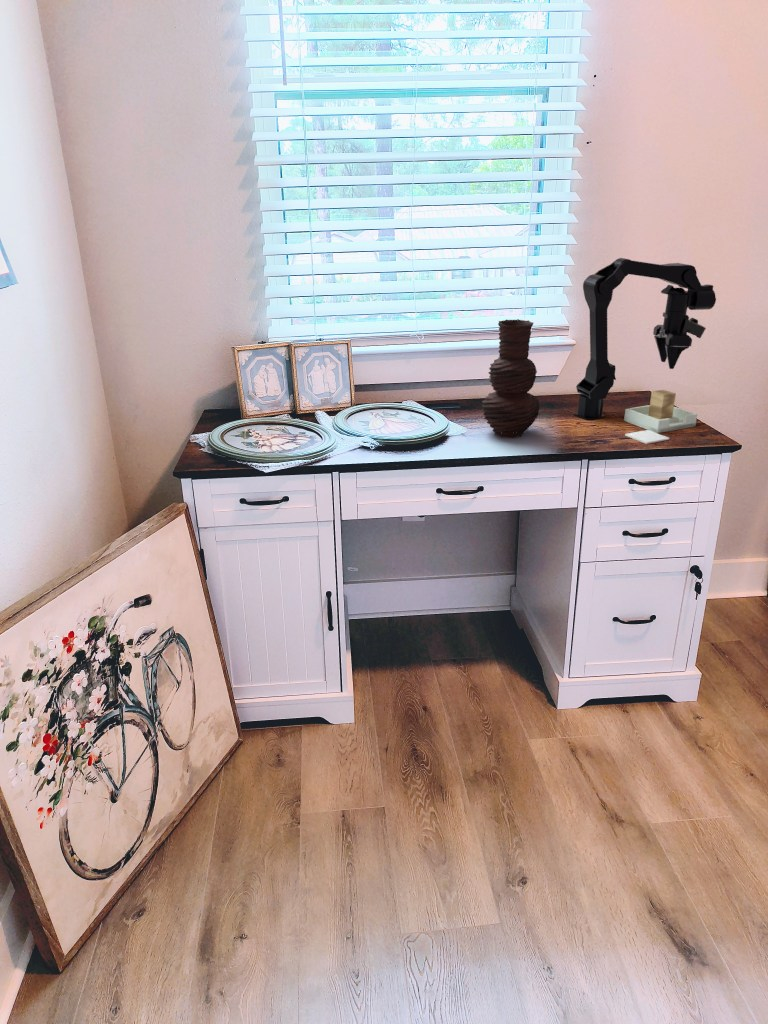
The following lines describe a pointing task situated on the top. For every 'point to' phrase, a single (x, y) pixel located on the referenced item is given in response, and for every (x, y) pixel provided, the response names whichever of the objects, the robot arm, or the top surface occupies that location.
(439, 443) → the top surface
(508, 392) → the vase
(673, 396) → the oak block
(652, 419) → the pale green shallow tray
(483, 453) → the top surface
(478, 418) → the top surface
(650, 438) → the pad
